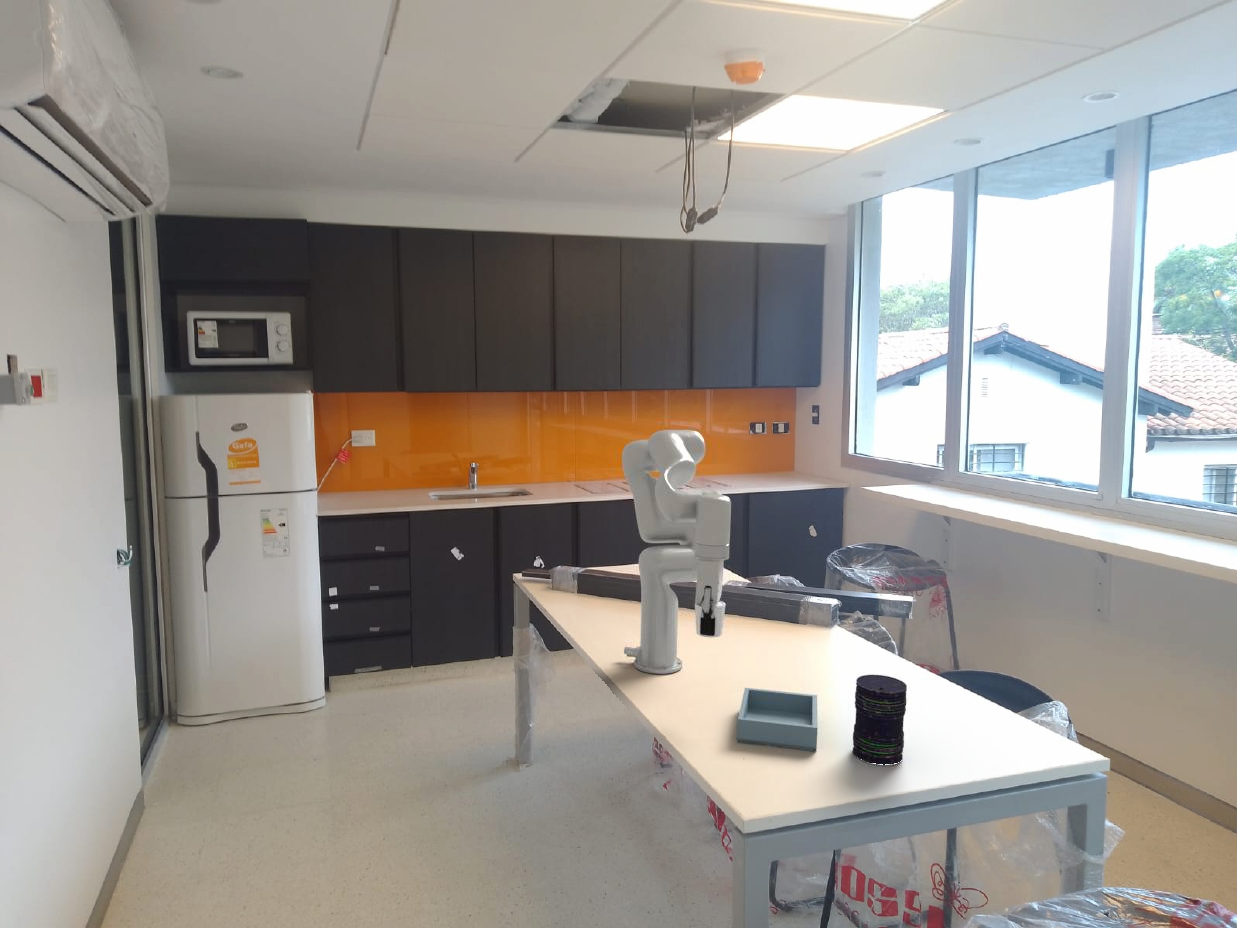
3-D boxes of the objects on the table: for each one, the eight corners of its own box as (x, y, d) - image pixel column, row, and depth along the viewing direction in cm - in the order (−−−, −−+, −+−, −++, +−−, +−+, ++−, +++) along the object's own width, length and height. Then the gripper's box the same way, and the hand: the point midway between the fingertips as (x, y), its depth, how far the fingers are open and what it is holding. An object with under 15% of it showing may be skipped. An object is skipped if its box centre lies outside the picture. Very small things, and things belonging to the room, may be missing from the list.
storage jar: (852, 740, 174) (856, 671, 172) (902, 747, 171) (906, 677, 169) (851, 761, 164) (855, 688, 163) (904, 769, 161) (908, 695, 160)
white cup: (727, 631, 187) (728, 600, 186) (720, 639, 180) (722, 608, 179) (697, 627, 189) (698, 597, 188) (690, 635, 182) (691, 604, 182)
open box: (737, 742, 172) (737, 718, 171) (744, 708, 189) (744, 687, 189) (816, 751, 168) (817, 727, 168) (816, 716, 186) (817, 695, 185)
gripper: (700, 541, 192) (697, 618, 194) (689, 557, 175) (686, 641, 177) (732, 544, 190) (729, 621, 192) (725, 560, 173) (721, 644, 175)
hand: (709, 629), depth 184 cm, fingers closed on white cup, 5 cm apart
